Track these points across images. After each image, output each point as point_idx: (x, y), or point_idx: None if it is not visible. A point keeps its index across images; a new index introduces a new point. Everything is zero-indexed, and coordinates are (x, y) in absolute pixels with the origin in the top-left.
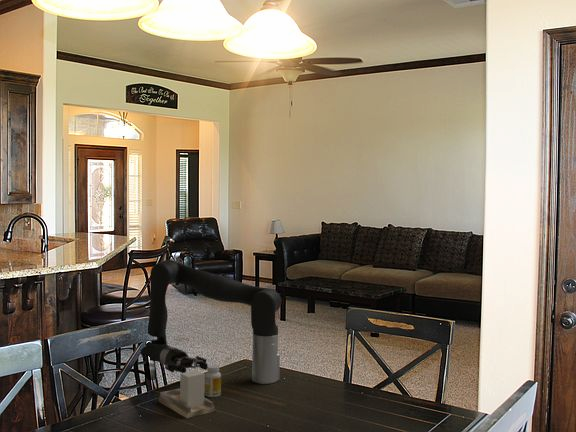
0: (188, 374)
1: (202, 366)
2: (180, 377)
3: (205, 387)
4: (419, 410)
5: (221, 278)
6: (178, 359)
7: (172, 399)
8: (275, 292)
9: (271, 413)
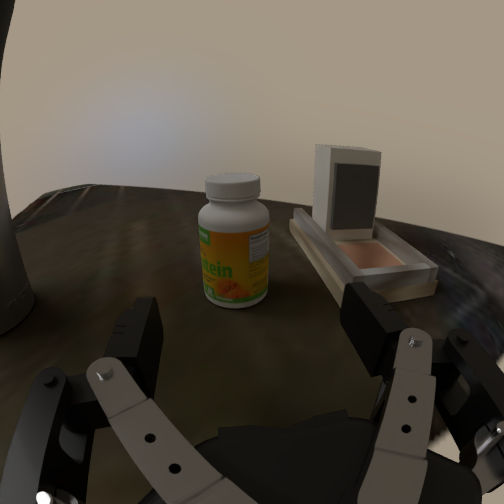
0: (359, 148)
1: (153, 352)
2: (380, 163)
3: (268, 262)
4: (60, 197)
5: None
6: (423, 455)
7: (393, 233)
8: None
9: (192, 210)
